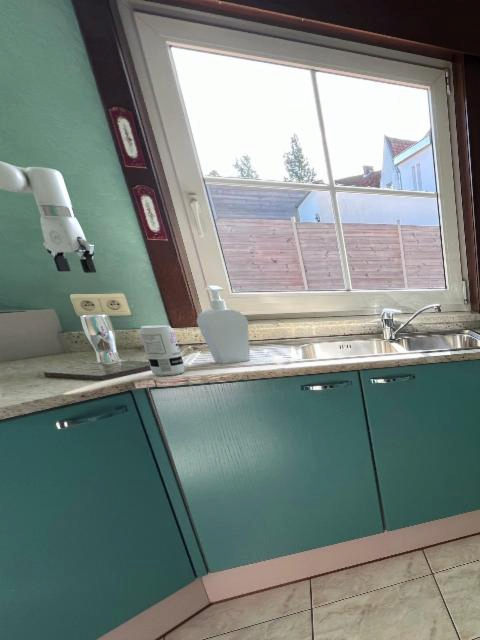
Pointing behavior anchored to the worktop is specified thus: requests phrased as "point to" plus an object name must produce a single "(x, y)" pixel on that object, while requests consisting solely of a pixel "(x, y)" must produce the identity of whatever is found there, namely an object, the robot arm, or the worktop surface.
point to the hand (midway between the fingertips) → (77, 271)
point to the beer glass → (101, 337)
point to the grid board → (100, 370)
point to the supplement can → (162, 349)
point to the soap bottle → (224, 330)
